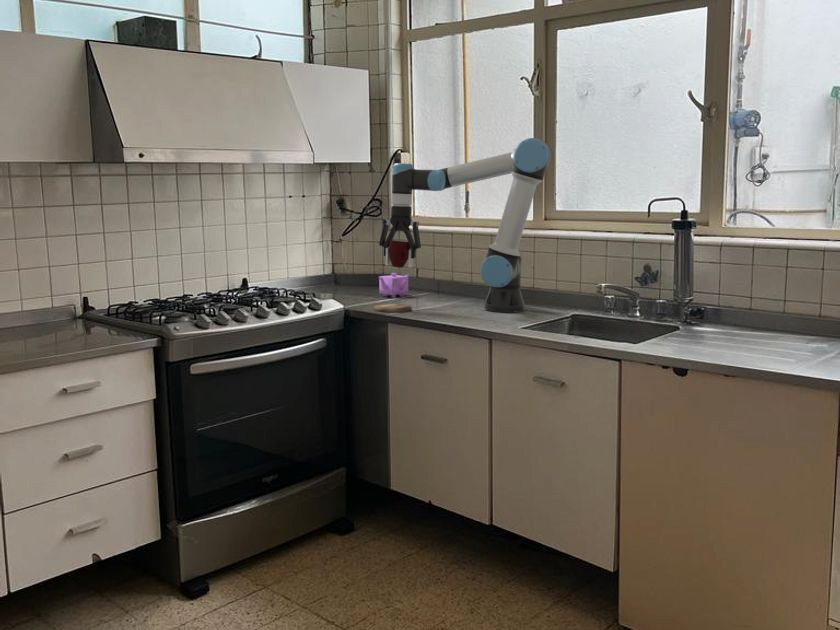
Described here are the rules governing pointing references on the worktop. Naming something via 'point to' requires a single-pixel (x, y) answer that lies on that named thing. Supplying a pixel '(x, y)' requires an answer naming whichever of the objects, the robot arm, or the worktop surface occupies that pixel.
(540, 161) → the robot arm
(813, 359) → the worktop surface
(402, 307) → the trivet
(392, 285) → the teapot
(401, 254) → the mug
